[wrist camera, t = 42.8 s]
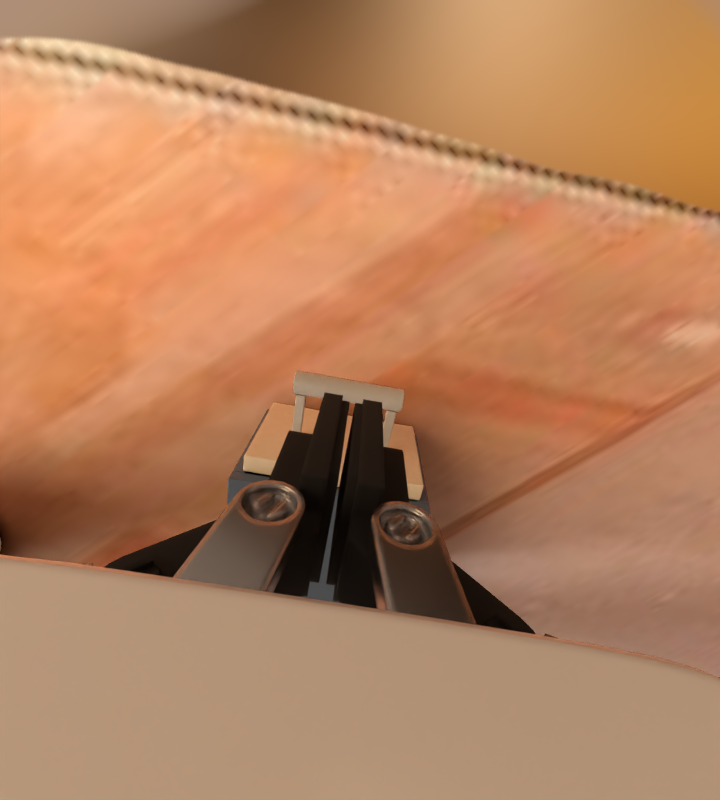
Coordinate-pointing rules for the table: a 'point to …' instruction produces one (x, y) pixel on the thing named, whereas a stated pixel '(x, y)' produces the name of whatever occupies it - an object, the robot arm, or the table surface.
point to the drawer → (304, 419)
